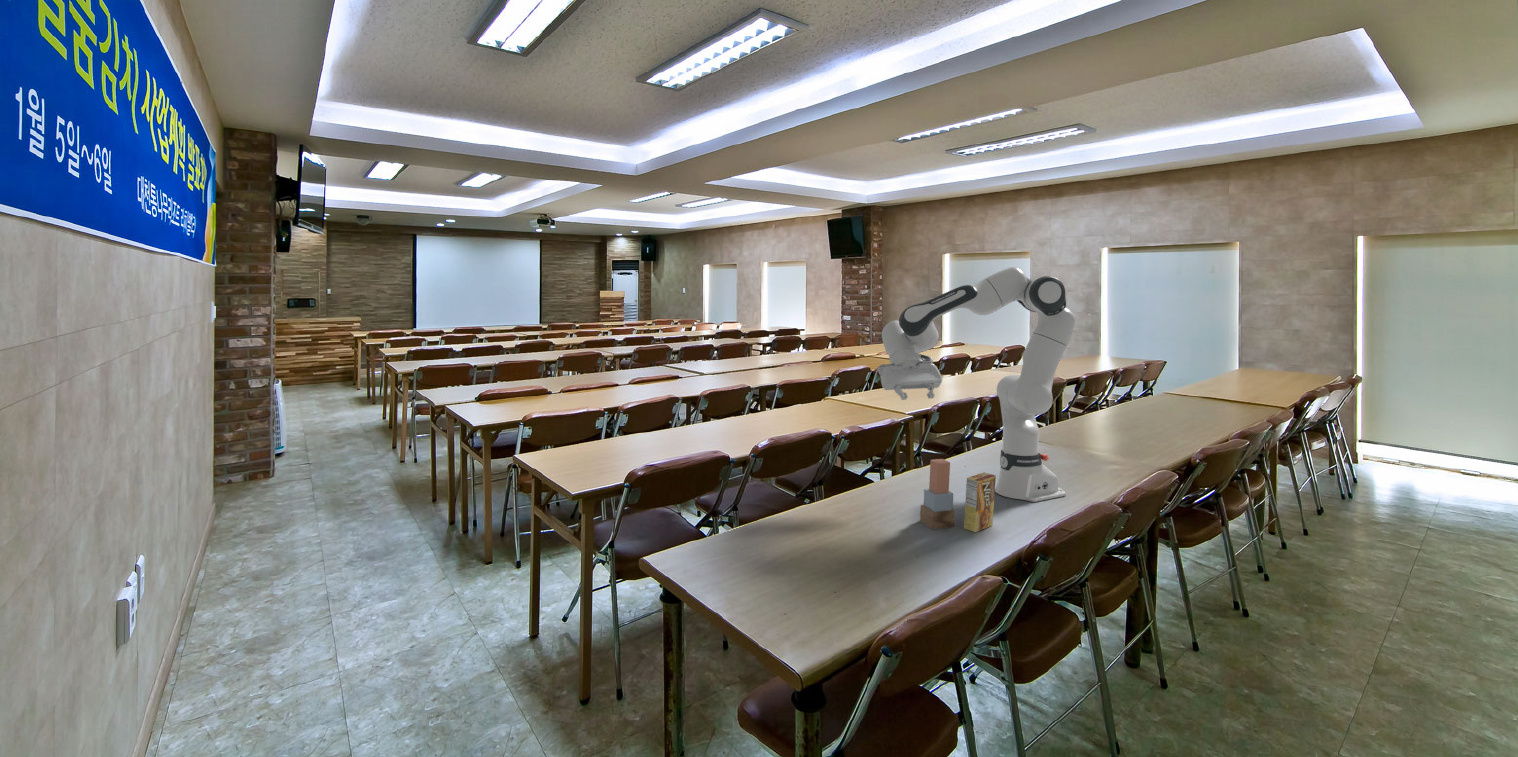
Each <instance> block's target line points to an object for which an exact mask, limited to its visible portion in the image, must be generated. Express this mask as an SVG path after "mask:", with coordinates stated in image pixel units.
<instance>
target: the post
mask: <svg viewBox="0 0 1518 757" xmlns="http://www.w3.org/2000/svg"><path fill="white" fill-rule="evenodd" d="M929 463H930V464H929V483H928V484H929V485H928V486H929V487H928V489H929V490H931V491H933V492H934V493H936V494H939V493H949V491H950V472H951V462H950V461H948V460H946V459H944V458H936V459H930V462H929Z"/></svg>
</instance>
